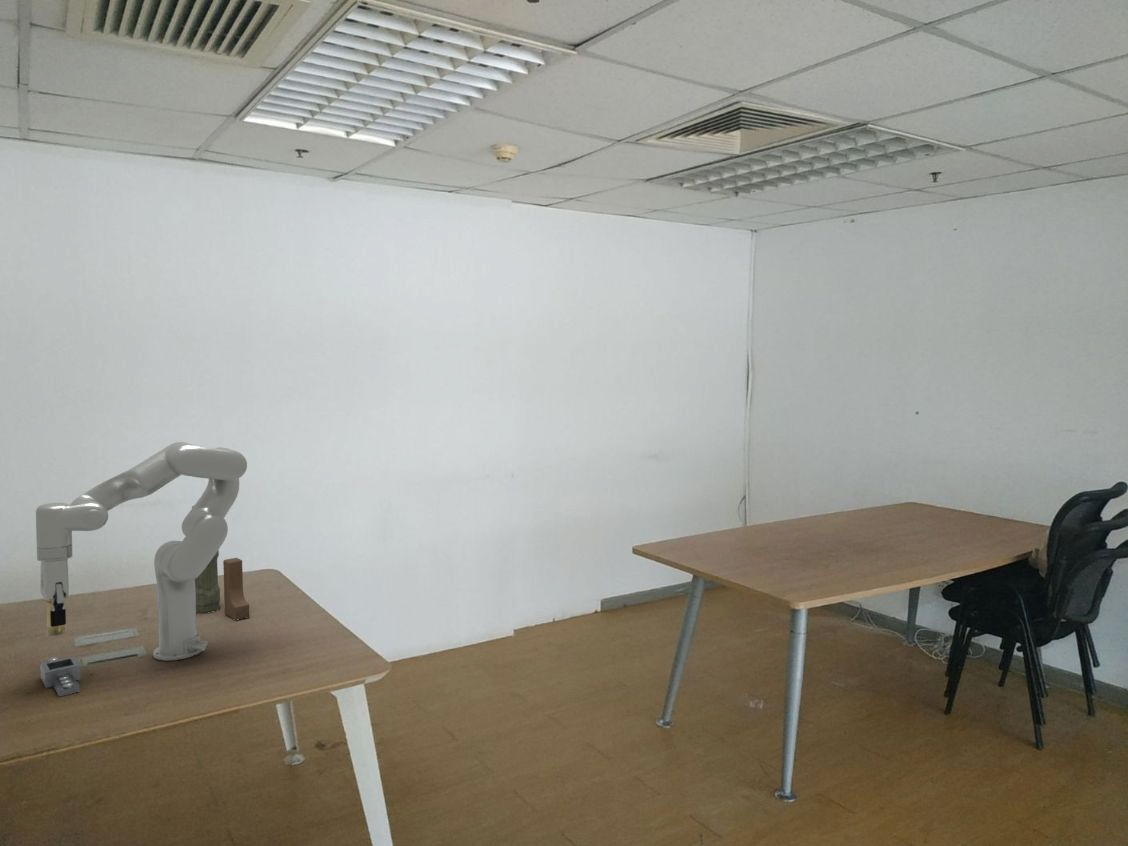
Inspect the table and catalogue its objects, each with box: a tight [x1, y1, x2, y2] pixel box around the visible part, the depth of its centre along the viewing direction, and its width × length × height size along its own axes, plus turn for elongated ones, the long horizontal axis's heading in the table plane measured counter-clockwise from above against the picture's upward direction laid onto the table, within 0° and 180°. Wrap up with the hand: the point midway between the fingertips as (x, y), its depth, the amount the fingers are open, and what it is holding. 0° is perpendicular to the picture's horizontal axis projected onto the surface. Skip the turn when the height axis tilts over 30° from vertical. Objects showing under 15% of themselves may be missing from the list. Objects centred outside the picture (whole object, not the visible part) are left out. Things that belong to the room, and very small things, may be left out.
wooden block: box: [222, 557, 250, 621], centre depth 247 cm, size 9×4×18 cm, turn 45°
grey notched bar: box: [39, 656, 82, 698], centre depth 198 cm, size 24×8×4 cm, turn 42°
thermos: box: [191, 505, 221, 614], centre depth 252 cm, size 9×12×35 cm
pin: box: [43, 596, 68, 637], centre depth 196 cm, size 5×5×10 cm
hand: (56, 622), depth 196 cm, fingers closed on pin, 4 cm apart
